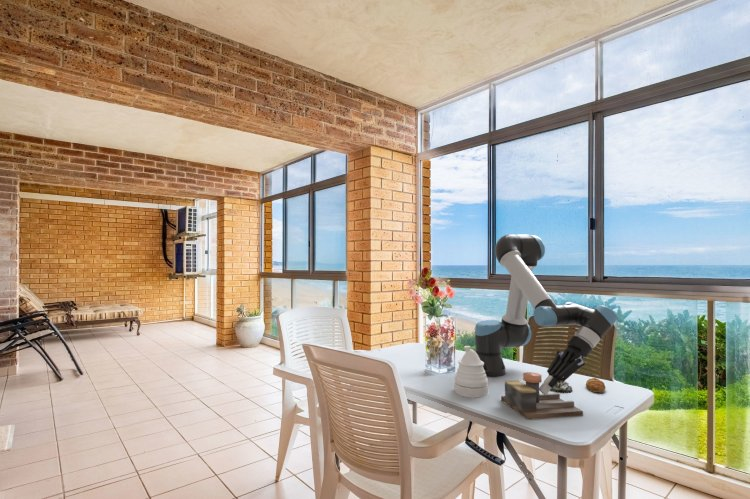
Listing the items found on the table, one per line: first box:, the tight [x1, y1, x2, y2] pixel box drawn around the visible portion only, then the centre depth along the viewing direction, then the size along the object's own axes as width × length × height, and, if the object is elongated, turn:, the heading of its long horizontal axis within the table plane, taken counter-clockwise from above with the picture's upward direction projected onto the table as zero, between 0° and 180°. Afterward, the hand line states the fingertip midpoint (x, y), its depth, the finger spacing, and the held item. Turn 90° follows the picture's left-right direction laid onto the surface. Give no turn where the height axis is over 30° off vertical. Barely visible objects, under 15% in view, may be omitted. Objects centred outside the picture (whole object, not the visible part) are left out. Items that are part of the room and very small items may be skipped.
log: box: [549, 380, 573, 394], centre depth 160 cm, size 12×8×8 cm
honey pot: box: [454, 345, 489, 398], centre depth 156 cm, size 13×13×18 cm
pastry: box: [585, 377, 606, 394], centre depth 158 cm, size 9×7×4 cm
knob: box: [522, 371, 543, 403], centre depth 139 cm, size 6×6×10 cm
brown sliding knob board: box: [500, 379, 584, 421], centre depth 139 cm, size 18×20×8 cm
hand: (541, 392), depth 139 cm, fingers closed
